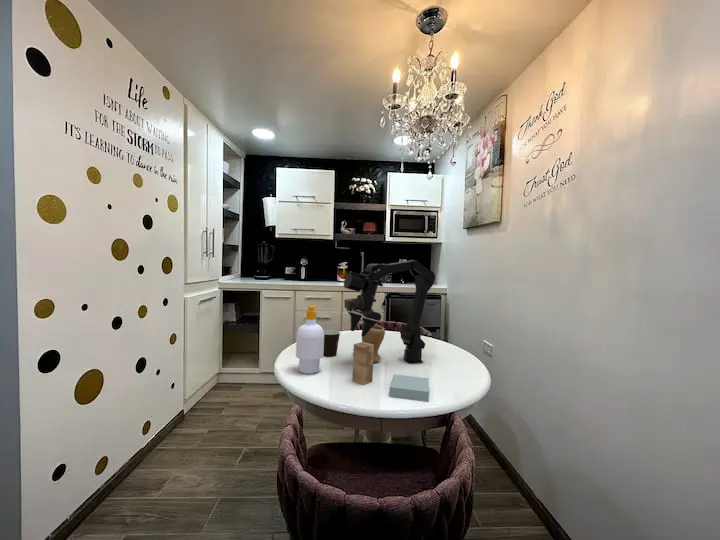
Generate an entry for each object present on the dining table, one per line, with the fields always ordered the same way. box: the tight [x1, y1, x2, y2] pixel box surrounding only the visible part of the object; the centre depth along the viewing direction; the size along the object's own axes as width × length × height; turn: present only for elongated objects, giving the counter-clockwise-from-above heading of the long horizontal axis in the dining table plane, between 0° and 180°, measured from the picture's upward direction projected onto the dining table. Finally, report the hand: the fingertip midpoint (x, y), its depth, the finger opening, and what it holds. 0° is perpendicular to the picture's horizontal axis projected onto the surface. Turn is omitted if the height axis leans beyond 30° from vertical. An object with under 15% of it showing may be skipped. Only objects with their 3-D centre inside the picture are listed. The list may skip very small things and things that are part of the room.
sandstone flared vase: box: [352, 323, 386, 363], centre depth 140 cm, size 15×12×15 cm
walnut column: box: [351, 341, 374, 386], centre depth 114 cm, size 5×5×13 cm
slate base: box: [389, 373, 430, 402], centre depth 107 cm, size 12×12×3 cm
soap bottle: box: [295, 305, 324, 375], centre depth 122 cm, size 10×10×24 cm
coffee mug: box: [323, 329, 341, 358], centre depth 144 cm, size 12×9×10 cm
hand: (357, 333), depth 127 cm, fingers open, 9 cm apart
